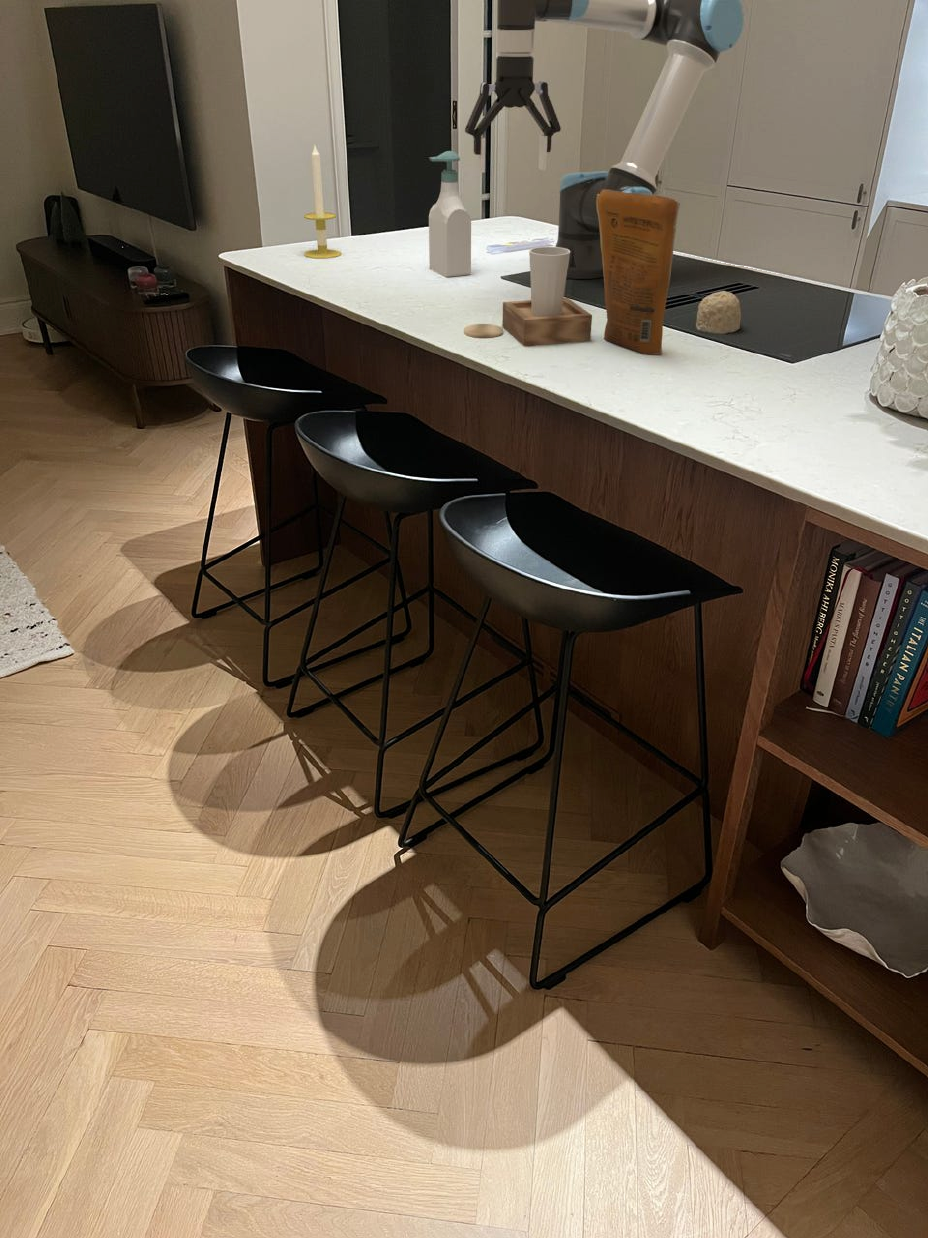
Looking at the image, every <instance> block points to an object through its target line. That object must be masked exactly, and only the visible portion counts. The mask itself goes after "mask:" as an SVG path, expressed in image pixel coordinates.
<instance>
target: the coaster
mask: <svg viewBox="0 0 928 1238" xmlns="http://www.w3.org/2000/svg"><path fill="white" fill-rule="evenodd" d="M463 334H464V335H466V336H468V337H471V338H475V339H477V338H479V339H491V338H497V337H499V336H501V335H503V334H504V328H503V327H502V326H499V325H497V324H491V323H476V324H469V325H466V326H465V327H464V328H463Z"/></svg>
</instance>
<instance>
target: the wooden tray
mask: <svg viewBox="0 0 928 1238" xmlns="http://www.w3.org/2000/svg"><path fill="white" fill-rule="evenodd" d="M592 320H593V314H592V313H590V312H588V311H587V310H586V309H584V308H583V307H581V306H580V305H578V304H576V303H575V302H574V301H573V300H571V299H570V298H569V297H564V299H563V312H562V315H557V316H544V317H537V316H534V315H532V314H531V299H528V300H527V299H525V300H512V301H503V302H502V323H501V324H502V326H501V327H502V328H503V329H504V330H505V331H507V333H509V334H510V335H511V336H512V337H514V339H516V340H517V341H518V342H519V343H520V345H522V346H523V347H524V346H526V347H528V346H539V345H551V344H564V343H575V342H577V343H578V342H588V341H591V336H592V322H593V321H592Z"/></svg>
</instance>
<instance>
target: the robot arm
mask: <svg viewBox="0 0 928 1238" xmlns="http://www.w3.org/2000/svg"><path fill="white" fill-rule="evenodd" d="M496 1H497V2H496V4H497V5H496V6H497V7H496V9H497V10H496V53H497V54H499V56H497V57H496V58H495V62H496V63H495V69H496V70H495V83H494V84H489V83H487V82H482V83H480V88H479V95H478V98H477V100H476V102H475V104H474V107H473V109H472V112H471V114H470V116H469V119H468V121H467V124H466V126H465V128H464V132H465V133H466V134H468V135H470V136H472V138H473V153H474V155H476V156H477V172H479V173H482V174H483V173H486V137H484V136H483V135H484V134H485V132H486V131H487V130H488V128H489V126H490V125H491V124H492V122H493V121H494V119H495V118H496V117H497V116H498V114H499V113H500V111H502V110H503V108H504V107H505V108H508V109H509V108H523V107H525V108H526V110H527V111H528V113H529V115H530V116H531V117H532V119H534V121H535V123H536V125H538V127H539V129H540V131H541V132H542V133H543V134H539V148H538V149H539V150H538V151H539V152H538V169H539V170H540V171H546V170H547V158H548V157H547V156H548V155H547V154H548V153H550V152H551V151H552V137H553V135H554V134H556V133H559V132H561V129H562V128H561V126H560V122H559V120H558V117H557V114H556V112H555V109H554V108H555V107H554V106H553V104H552V101H551V98H550V95H549V87H548V86H549V84H548V82H546V81H539V82H537V83H536V82H535V83H534V80H533V79H534V57H533V55H532V54H534V52H535V28H536V26H535V25H536V22H544V23H551V24H560V25H567V26H575V27H581V28H589V29H590V28H591V29H598V30H605V31H612V32H613V31H615V32H621V33H628V34H630V36H631V37H632V38H633V39H636V40H640V41H641V40H642V41H646V42H650V43H654V44H658V45H662V46H665V47H667V48H666V49H667V51H668V57H667V59H666V61H665V63H664V66H663V68H662V70H661V73H660V74H659V76H658V79H657V81H656V83H655V85H654V88H653V90H652V93H651V95H650V97H649V98H648V101H647V104H646V106H645V108H644V110H643V113H642V114H641V117H640V118H639V120H638V123H637V125H636V127H635V129H634V132H633V134H632V136H631V138H630V140H629V143H628V144H627V147H626V149H625V152H624V153H623V156H622V158H621V160H620V162H618V163H617V164H614V165H612V166H611V167H610V169H609V171H607V170H605V171H603V170H601V171H583V172H573V173H572V172H571V173H566V174H564V175H563V176H562V178H561V182H560V186H559V187H560V188H559V207H558V208H559V210H558V211H559V212H558V226H557V227H558V228H557V229H558V230H557V231H558V232H557V233H558V234H557V241H556V244H555V246H554V247H560V248H565V249H568V250H570V257H569V264H568V269H567V276H566V279H576V280H589V279H592V280H593V279H600V278H604V273H603V262H602V251H601V242H600V228H599V219H598V213H597V205H596V200H597V194H599V195H600V193H601V191H602V190H612V191H619V192H625V193H640V194H649V195H655V193H656V192H657V188H658V187H657V184H656V180H655V178H656V175H657V174H658V172H659V169H660V168H661V165H662V163H663V160H664V159H665V156H666V154H667V152H668V150H669V148H670V146H671V144H672V142H673V140H674V137H675V135H676V134H677V130H678V128H679V127H680V125H681V122H682V120H683V118H684V115H685V113H686V112H687V109H688V107H689V105H690V102H691V100H692V98H693V96H694V95H695V92H696V90H697V88H698V86H699V84H700V82H701V79H702V77H703V76H704V75H703V74H704V73H705V72H707V71H708V70H712V69H713V68H715V65H716V64H717V61H718V59H719V57H720V55H721V53H723V52H727V51H728V50H730V49H731V48H733V47H734V46H735V45H736V44H737V42H738V41H739V39H740V37H741V35H742V31H743V28H744V22H745V20H744V19H745V17H744V16H745V15H744V13H743V8H744V7H743V4H742V1H741V0H496ZM493 92H494V94H495V96H497V97H496V99H495V100H494V102H493V103H492V105H491V106H490V108H489V110H488V111H487V112H486V114H485V115H484V116H483V118H482V119H481V121H480V122H479V120H480V118H481V115H482V114H483V111H484V108H485V106H486V104H487V102H488V99H489V96H491V95H492V93H493ZM534 92H535V93H536V94H537V95H538V96H539V99H540V102H541V105H542V107H543V110H544V112H545V114H546V115H545V116H546V118H547V120H545V118H544V117H543V115H542V113H541V112H540V111H539V109H538V108H537V106H536V104H535V102H534V100H533V99H532V98H531V96H532V95H533V93H534ZM547 121H548V122H547ZM478 123H479V124H478ZM548 123H549V124H548Z"/></svg>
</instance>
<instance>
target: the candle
mask: <svg viewBox="0 0 928 1238" xmlns="http://www.w3.org/2000/svg"><path fill="white" fill-rule="evenodd" d="M310 157H311V167H312V179H313V180H312V181H313V194H314V205H315V207H314V208H315V212H311V213H305V214H304V215H303V218H304V219H306V220H312V221H315V227H316V228H315V230H316V242H317V244H316V245H317V249H312V250H308V251H306V252H304V255H303V256H304V257H306V258H308V259H309V258H310V259H317V260H318V259H319V260H320V259H321V260H322V259H323V260H324V259H333V258H334V259H335V258H338V257H340V256H342V252H341V251H340V250H335V249H331V248H330V249H328V241H327V227H326V226H327V225H326V220H332V219H335V218H336V217H337V214H336V213H332V212H325V211H324V210H325V209H324V208H325V207H324V206H325V205H324V197H323V196H324V195H323V183H322V182H323V181H322V179H323V178H322V168H321V165H322V164H321V153H319V151H318V148H317V145H316V143H315V142H314V145H313V150H312V153H311V155H310Z"/></svg>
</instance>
